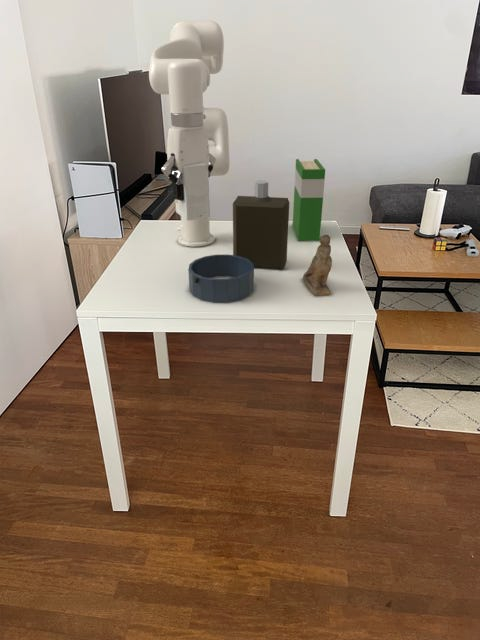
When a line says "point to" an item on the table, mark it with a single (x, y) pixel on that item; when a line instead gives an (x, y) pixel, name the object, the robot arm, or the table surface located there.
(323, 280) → the brown carved statuette
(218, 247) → the table surface
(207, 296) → the blue-grey ring
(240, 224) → the bottle
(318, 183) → the hardback book
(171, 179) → the robot arm
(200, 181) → the small box
